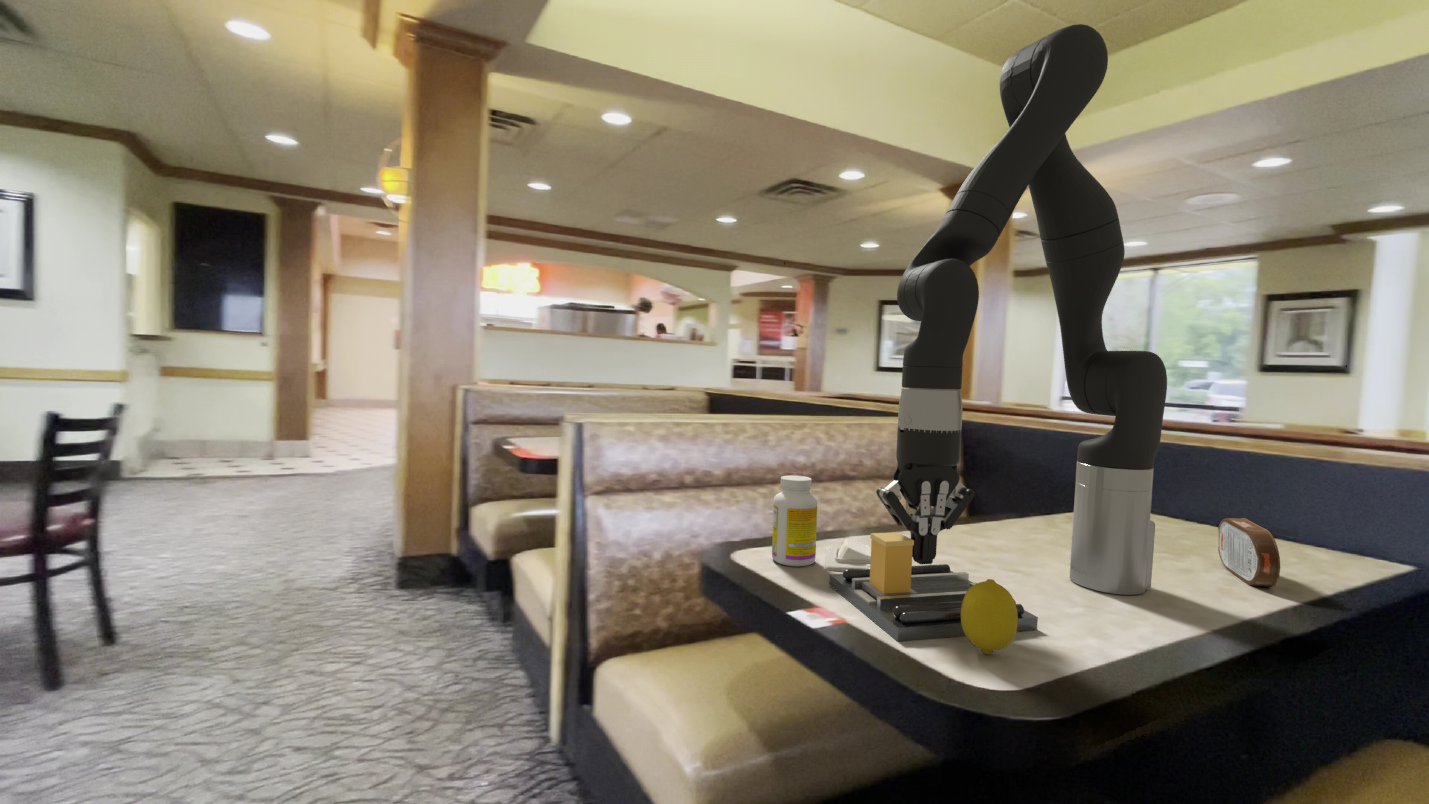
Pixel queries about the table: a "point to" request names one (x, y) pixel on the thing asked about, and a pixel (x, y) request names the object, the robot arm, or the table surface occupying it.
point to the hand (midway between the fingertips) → (922, 562)
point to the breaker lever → (890, 565)
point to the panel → (918, 603)
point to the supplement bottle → (794, 522)
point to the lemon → (989, 616)
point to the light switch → (848, 556)
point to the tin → (1249, 552)
